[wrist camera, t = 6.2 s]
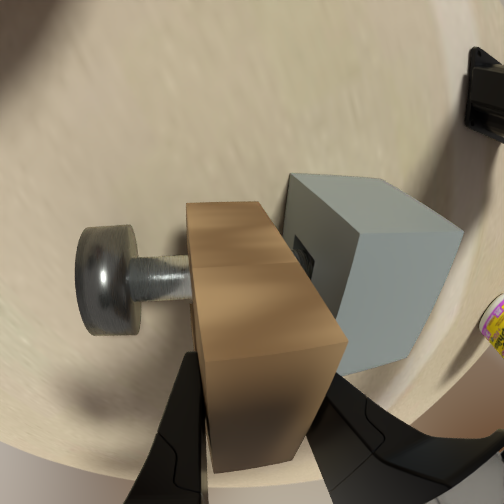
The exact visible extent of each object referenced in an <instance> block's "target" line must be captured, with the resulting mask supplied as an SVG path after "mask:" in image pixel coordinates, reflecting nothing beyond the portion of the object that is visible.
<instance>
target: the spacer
mask: <svg viewBox="0 0 504 504" xmlns="http://www.w3.org/2000/svg"><path fill="white" fill-rule="evenodd" d="M186 225H187V249H188V260H189V271H190V281H191V290H192V299H193V304H190V314H191V328H192V338H193V346H194V351H197V352H198V359H199V366H200V372H201V378H202V385H203V395H204V407H205V418H206V435H207V440H208V446H209V451H210V456H211V462H212V467H213V472H214V474H215V473H224V472H232V471H239V470H245V469H251V468H257V467H263V466H268V465H273V464H278V463H282V462H287V461H291V460H292V459H293V458H294V456H295V454H296V452H297V450H298V449H299V447H300V445H301V443H302V441H303V439H304V437H305V436H306V434H307V432H308V430H309V428H310V426H311V424H312V422H313V420H314V418H315V416H316V414H317V412H318V410H319V408H320V406H321V404H322V401H323V399H324V397H325V395H326V393H327V391H328V389H329V386H330V384H331V382H332V380H333V377H334V375H335V373H336V371H337V368H338V366H339V364H340V361H341V359H342V356H343V354H344V352H345V349H346V347H347V344H348V342H349V341H348V339H347V337H346V336H345V334H344V333H343V331H342V329H341V328H340V326H339V325H338V323H337V321H336V320H335V318H334V317H333V315H332V313H331V312H330V310H329V309H328V307H327V305H326V304H325V302H324V301H323V299H322V298H321V296H320V294H319V293H318V291H317V290H316V288H315V287H314V285H313V283H312V282H311V280H310V279H309V277H308V276H307V274H306V273H305V271H304V270H303V268H302V266H301V265H300V263H299V262H298V260H297V259H296V257H295V256H294V254H293V253H292V251H291V250H290V248H289V247H288V245H287V244H286V242H285V241H284V239H283V238H282V236H281V234H280V233H279V231H278V230H277V228H276V227H275V225H274V224H273V223H272V221H271V220H270V218H269V217H268V215H267V214H266V212H265V211H264V209H263V208H262V206H261V205H260V203H259V202H205V203H186Z"/></svg>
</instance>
